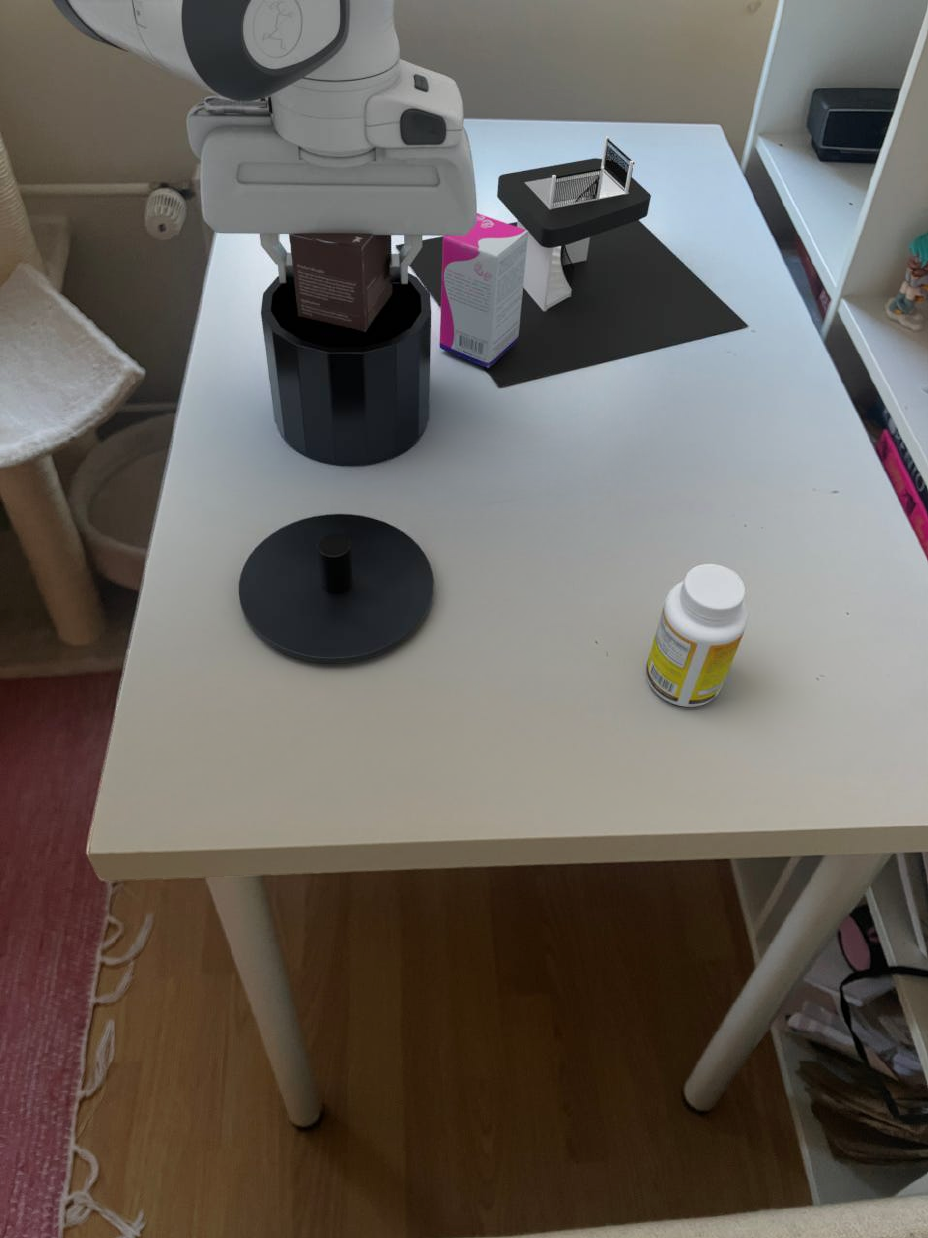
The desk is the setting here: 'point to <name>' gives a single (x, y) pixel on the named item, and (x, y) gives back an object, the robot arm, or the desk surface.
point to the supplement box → (482, 290)
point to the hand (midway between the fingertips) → (344, 279)
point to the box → (341, 277)
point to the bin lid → (336, 588)
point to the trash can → (350, 377)
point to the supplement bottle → (698, 636)
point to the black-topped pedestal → (590, 272)
